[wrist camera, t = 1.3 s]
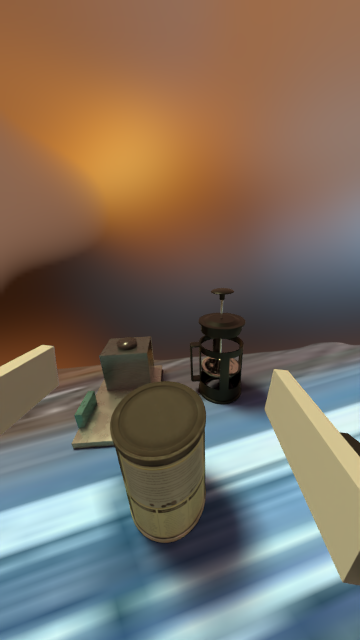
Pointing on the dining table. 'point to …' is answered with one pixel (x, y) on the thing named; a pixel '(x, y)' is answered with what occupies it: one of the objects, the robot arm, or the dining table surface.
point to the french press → (219, 354)
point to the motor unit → (114, 388)
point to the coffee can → (162, 457)
